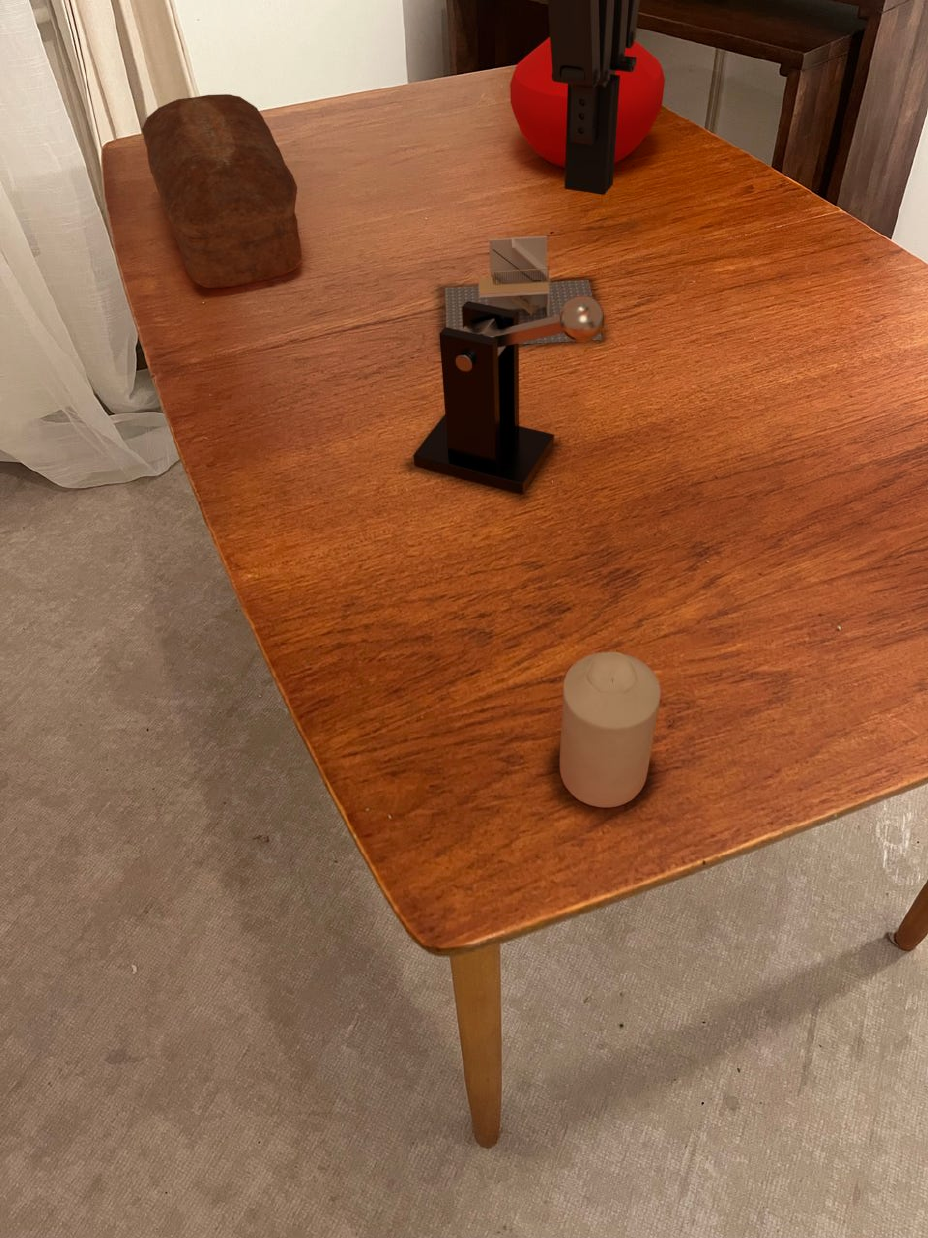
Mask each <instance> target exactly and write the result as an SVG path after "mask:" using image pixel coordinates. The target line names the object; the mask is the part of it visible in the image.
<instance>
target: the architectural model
mask: <svg viewBox="0 0 928 1238" xmlns="http://www.w3.org/2000/svg"><path fill="white" fill-rule="evenodd" d="M547 255H548V236H547V235H536V236H521V237H503V238H501V237H500V238H490V239H489V261H490V262H489V263H490V264H489V265H490V266H489V267H490V271H489V272H490V276H483V277H482V276H481V277H478V278H477V282H478V285H475V286H457V287H456V286H455V287H445V288H444V299H445V300H444V301H445V302H444V303H445V327H447V328H452V329H456V330H462V329H463V317H462V306H463V305H464V304H465V303H466V302H467V301H471V302H475V303H480V304H485V305H490V306H495V307H500V308H505V309H510V310H514V311H518V312H519V324H524V323H528V322H532V321H536V320H540V319H544V318H549V317H553V316H557V315H560V313H561V310H562V308H563V306H564V305H565V304H566V303H567V302H568V301H569V300H570V299H572V298H574V297H577V296H589V297H591V298H593V294H592V290H591V285H590V281H589V279H581V280H579V279H578V280H564V281H551V275H550V267H548V266H547V265H548V264H547V259H548V256H547ZM602 339H603V338H602V334H601V332H600V333H599V334H598V335H597V336H596V337H595V338H594V339H592V340H591V341H603V340H602ZM567 342H574V341H573V340H571V339H569V338H568V337H567V336H566V335H565V334H564V333H561V334H557V335H552V336H548V337H543V338H539V339H535V340H530V341H526V342H521V343H519V345H531V344H548V343H567Z"/></svg>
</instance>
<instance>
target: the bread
mask: <svg viewBox="0 0 928 1238" xmlns="http://www.w3.org/2000/svg"><path fill="white" fill-rule="evenodd" d="M141 132H142V135H143V140H144V144H145V148H146V153H147V155H146V156H147V163H148V167H149V170H150V173H151V176H152V177H153V180H154V184H155V186H156V190H157V192H158V194H159V197H160V199H161V202H162V209H163V211H164V214H165V216H166V217H167V218H168V220H169V224H170V226H171V227H170V228H171V230H172V233H173V235H174V236H173V237H174V238H175V240H176V243H177V245H178V247H179V251H180V254H181V259H182V262H183V265H184V270H185V271H186V273H187V275H188V276H189V278H190V279H191V280H192V281H193V282H195V283H196V284H198V285H200V286H202V287H203V288H205V289H225V288H233V287H239V286H245V285H252V284H256V283H260V282H263V281H267V280H270V279H271V280H272V279H274V278H277V277H280V276H284V275H286V274H288V273H291V272H293V271H294V270H295V269H296V268H297V266H298V265H299V264H300V263H301V262H302V260H303V258H302V257H303V256H302V245H301V240H300V236H299V228H298V227H299V226H298V225H299V224H298V218H297V215H296V213H295V210H296V202H297V195H298V185H297V182H296V181H295V178H294V175H293V174H292V172H291V170H290V169H289V167H288V166H287V164H286V162H285V160H284V157H283V155H282V152H281V149H280V147H279V146H278V145H277V142H276V141H275V138H274V136H273V134H272V132H271V130H270V128H269V126H268V124H267V123H266V121H265V119H264V117H263V115H262V113H261V112H260V111H259V109H258V107H256V106H255V105H254V104H252V103H250V102H249V101H248V100H246V99H244V98H243V97H241V96H239V95H233V94H230V93H229V94H228V93H223V94H205V95H199V96H193V97H185V98H177V99H175V100H173V101H170V102H168V103H166V104H164V105H161V106H159V107H157V108H156V109H155V110H154V111H153V112H152V113H150V115H148V116H147V117H146V119H145V121H144V124H143V126H142V128H141Z"/></svg>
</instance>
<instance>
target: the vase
mask: <svg viewBox="0 0 928 1238" xmlns="http://www.w3.org/2000/svg"><path fill="white" fill-rule="evenodd" d="M625 56H630V57H637V61H636V66H635V69H634V71H633V72H624V71H616V75H620V86H619V101H618V116H617V131H616V146H615V160H614V165H616V164H617V163H620V162H621V161H622V160H624V159H625V158H627V156H629V155H630V154H633V152H634V151H635V150H636V149H637V147H638V146H639V145H640V144H641V143H642V142H643V140H644V139H645V138H646V137H647V136H648V134H649V133H650V132H651V130H652V128H653V126H654V124H655V122H656V120H657V118H658V116H659V113H660V111H661V110H662V107H663V100H664V94H665V86H666V85H665V84H666V78H665V73H664V68H663V66H662V64H661V62H660V61H659V59H658V58H656V57H655V56H654V55H653V54H652V53H650V51H649V50H647V49H646V48H645V47H643V46H642V45H641V44H640V43H639V42H638V41H637V40H635V41H634V45H633V46H632V48H631V49H629V48H625ZM509 91H510V92H509V93H510V95H509V97H510V105H511V106H510V107H511V110H512V112H513V115H514V118H515V120H516V122H517V125H518V127H519V130H520V132H521V135H522V137H523V138H524V139H525V141H526V142H527V143H528V144H529V146H530V147H531V148H532V150H533V151H535V152H536V153H537V155H538V156H540V157H541V158H543V159H544V160H546V161H547V162H548V163H550V164H552V165H553V166H555V167H559V168H562V169H565V157H566V124H567V92H568V84H565V83H558V82H554V81H553V80H552V59H551V44H550V36H549V37H547V39H545V40H544V41H543V42H542V43H540V44H539V45H538V46H537V47H536V48H534V49H533V50H532V51H530V53H529V54H527V55H526V56H525V57H523V59H522V60H520V61H519V62H518V63H516V65H515V68H514V71H513V74H512V77H511V80H510V83H509Z"/></svg>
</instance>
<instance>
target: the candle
mask: <svg viewBox="0 0 928 1238" xmlns="http://www.w3.org/2000/svg"><path fill="white" fill-rule="evenodd" d="M661 692H662V690H661V685H660V681H659V679H658V677H657V675H656V673H655V672H654V671H653V670H652V669H651V667H650V666H649V665H647V663H645V662H643V661H642V660H641V659H638V658H637V657H635V656H633V655H630V654H626V653H623V652H618V651H600V652H595V653H591V654H589V655H586V656H584V657H582V658H580V659H579V660H577V661H576V662H575V663H573V665H572V666H570V668H569V669H568V671H567V673H566V674H565V676H564V680H563V686H562V705H561V723H560V725H561V726H560V745H559V746H560V747H559V773H560V777H561V780H562V783H563V785H564V787H565V788H566V789H567V791H568V792H569V793H570V795H572V796H573V797H574V798H576V799H577V800H578V801H580V802H581V803H584V804H586V805H589V806H592V807H596V808H614V807H620V806H622V805H625V804H627V803H629V802H630V801H632V800H633V799H635V798H636V797H637V796H638V795H639V794H640V792H641V791H642V789H643V787H644V785H645V784H646V780H647V776H648V771H649V767H650V766H649V765H650V761H651V754H652V748H653V744H654V737H655V732H656V726H657V721H658V713H659V708H660V702H661V696H662V694H661Z"/></svg>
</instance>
